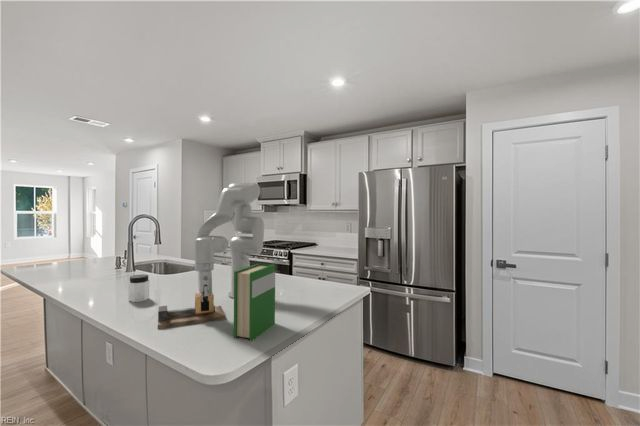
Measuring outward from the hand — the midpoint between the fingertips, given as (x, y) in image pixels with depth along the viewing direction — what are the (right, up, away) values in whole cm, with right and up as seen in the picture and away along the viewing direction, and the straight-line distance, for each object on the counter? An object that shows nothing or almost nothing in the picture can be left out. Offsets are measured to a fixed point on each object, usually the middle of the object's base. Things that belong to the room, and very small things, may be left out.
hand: (204, 308), depth 129 cm
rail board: (-4, -4, -2) cm, 6 cm away
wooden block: (0, -1, 0) cm, 1 cm away
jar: (-41, -3, +22) cm, 47 cm away
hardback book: (+25, -4, -14) cm, 29 cm away
